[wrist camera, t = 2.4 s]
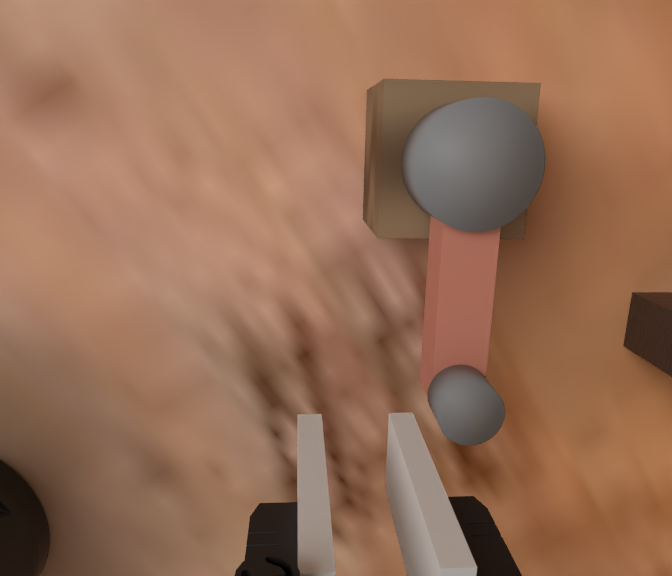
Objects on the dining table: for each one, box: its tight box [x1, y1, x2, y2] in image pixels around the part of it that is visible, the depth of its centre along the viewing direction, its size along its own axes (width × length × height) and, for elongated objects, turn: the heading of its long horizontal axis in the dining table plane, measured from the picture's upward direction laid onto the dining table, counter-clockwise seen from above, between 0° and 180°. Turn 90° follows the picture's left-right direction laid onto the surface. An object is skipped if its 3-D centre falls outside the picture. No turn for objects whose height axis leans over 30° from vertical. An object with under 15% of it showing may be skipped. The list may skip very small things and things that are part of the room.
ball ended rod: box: [401, 97, 545, 446], centre depth 27 cm, size 16×6×5 cm, turn 179°
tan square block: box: [363, 79, 541, 239], centre depth 32 cm, size 8×8×7 cm
